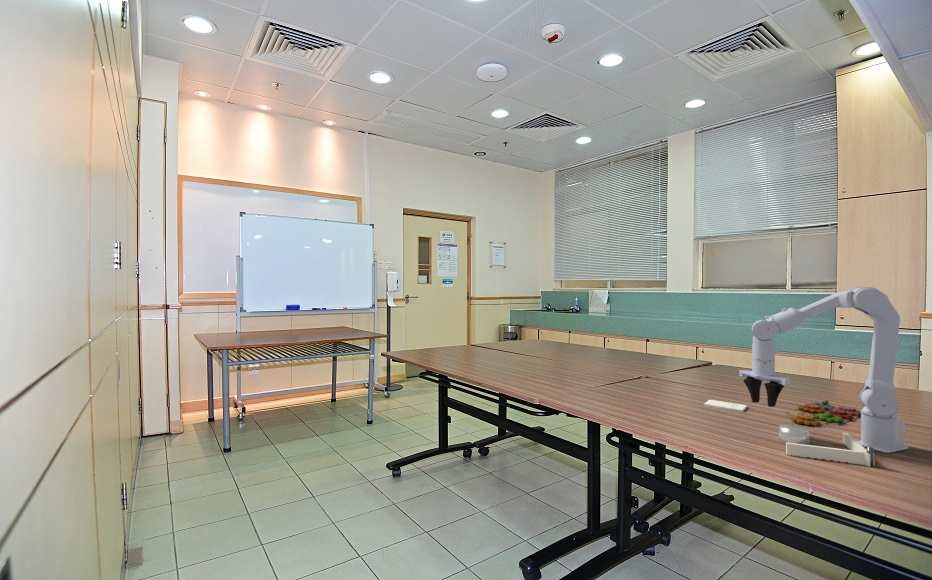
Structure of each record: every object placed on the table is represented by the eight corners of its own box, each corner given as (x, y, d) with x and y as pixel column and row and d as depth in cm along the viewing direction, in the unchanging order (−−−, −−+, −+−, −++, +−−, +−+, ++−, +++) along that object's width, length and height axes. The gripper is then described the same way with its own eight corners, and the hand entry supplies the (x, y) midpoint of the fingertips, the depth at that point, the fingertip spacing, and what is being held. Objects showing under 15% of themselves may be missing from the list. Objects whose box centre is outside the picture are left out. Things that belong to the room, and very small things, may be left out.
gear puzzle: (826, 433, 135) (826, 419, 135) (768, 419, 149) (768, 407, 149) (866, 417, 151) (866, 405, 151) (810, 406, 165) (810, 395, 165)
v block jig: (844, 442, 125) (844, 426, 125) (903, 459, 113) (903, 442, 113) (784, 453, 117) (784, 436, 117) (840, 473, 105) (840, 454, 105)
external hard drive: (709, 403, 170) (747, 409, 162) (704, 407, 164) (743, 414, 156) (709, 399, 170) (747, 404, 162) (704, 403, 164) (743, 409, 156)
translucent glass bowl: (790, 436, 131) (790, 423, 131) (815, 444, 124) (815, 430, 124) (773, 439, 129) (773, 425, 129) (798, 447, 122) (798, 433, 122)
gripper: (732, 356, 140) (732, 399, 140) (777, 364, 127) (777, 411, 127) (748, 355, 143) (748, 397, 143) (795, 362, 129) (795, 409, 129)
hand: (763, 404), depth 135 cm, fingers open, 4 cm apart
